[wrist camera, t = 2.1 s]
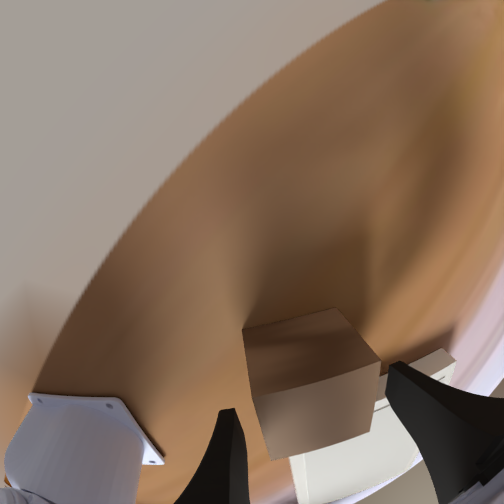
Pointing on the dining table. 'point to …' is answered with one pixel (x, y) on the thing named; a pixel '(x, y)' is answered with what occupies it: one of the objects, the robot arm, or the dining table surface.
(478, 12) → the dining table surface
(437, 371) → the white tray
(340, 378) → the walnut block
